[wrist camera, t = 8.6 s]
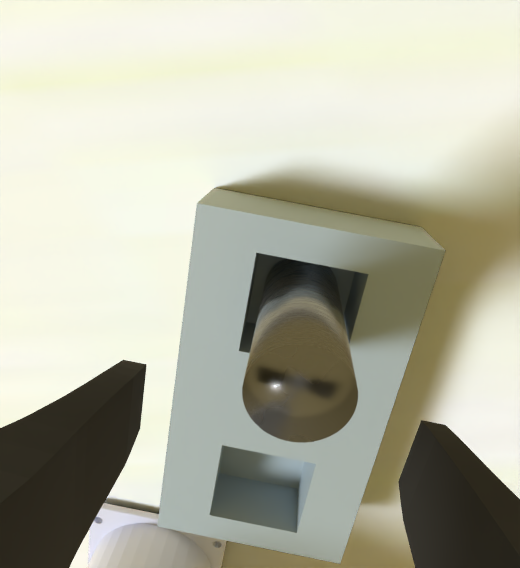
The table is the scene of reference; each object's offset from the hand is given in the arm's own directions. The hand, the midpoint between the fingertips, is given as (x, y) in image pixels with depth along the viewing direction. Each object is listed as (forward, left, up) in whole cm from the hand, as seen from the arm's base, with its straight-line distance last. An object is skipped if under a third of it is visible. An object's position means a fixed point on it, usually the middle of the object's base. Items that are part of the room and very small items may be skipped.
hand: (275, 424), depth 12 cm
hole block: (-4, -1, -10) cm, 11 cm away
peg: (0, -1, -9) cm, 9 cm away
